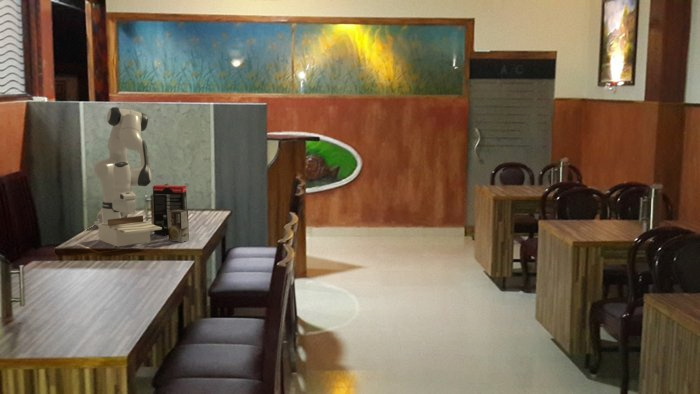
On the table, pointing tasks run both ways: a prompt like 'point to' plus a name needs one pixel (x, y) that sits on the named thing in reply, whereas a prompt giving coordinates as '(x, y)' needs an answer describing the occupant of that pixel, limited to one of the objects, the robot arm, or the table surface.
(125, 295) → the table surface
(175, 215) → the coffee box
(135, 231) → the box lid
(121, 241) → the gift box base
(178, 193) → the graphics card box
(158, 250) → the table surface
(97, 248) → the table surface
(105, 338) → the table surface
